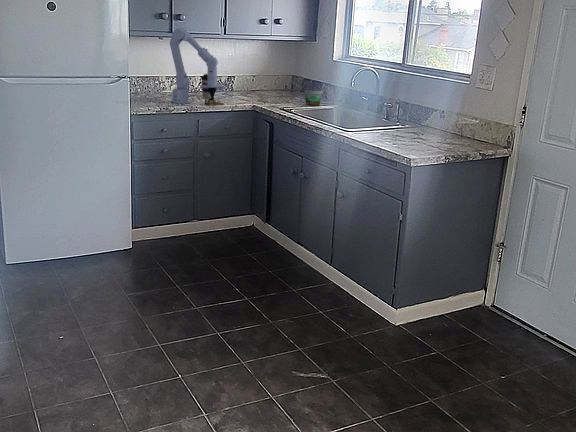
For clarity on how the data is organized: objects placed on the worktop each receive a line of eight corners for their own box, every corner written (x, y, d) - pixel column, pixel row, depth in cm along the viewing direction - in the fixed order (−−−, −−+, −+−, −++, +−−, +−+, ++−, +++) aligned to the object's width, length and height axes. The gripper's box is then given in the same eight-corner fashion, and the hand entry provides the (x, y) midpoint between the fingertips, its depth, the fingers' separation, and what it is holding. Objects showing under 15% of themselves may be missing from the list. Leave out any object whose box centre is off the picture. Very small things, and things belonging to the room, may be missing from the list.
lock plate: (209, 105, 395) (209, 100, 394) (204, 104, 399) (204, 98, 398) (223, 104, 402) (224, 99, 401) (218, 103, 406) (219, 97, 405)
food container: (306, 106, 419) (307, 90, 415) (303, 104, 424) (304, 89, 421) (324, 106, 422) (325, 91, 419) (321, 105, 427) (322, 90, 424)
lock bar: (213, 101, 402) (213, 97, 401) (216, 102, 401) (216, 98, 400) (207, 102, 398) (207, 98, 397) (210, 103, 396) (210, 98, 396)
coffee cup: (205, 99, 417) (206, 75, 412) (197, 96, 424) (198, 73, 419) (218, 98, 423) (219, 75, 418) (210, 96, 430) (211, 73, 425)
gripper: (199, 78, 389) (199, 101, 394) (222, 79, 388) (222, 102, 393) (201, 77, 396) (201, 99, 400) (224, 78, 395) (224, 100, 399)
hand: (212, 100), depth 397 cm, fingers closed, pressing on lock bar
